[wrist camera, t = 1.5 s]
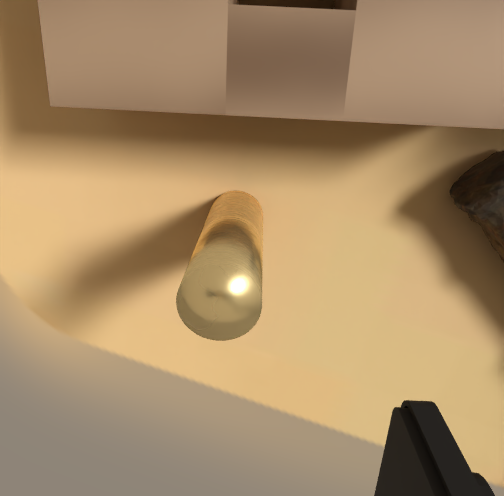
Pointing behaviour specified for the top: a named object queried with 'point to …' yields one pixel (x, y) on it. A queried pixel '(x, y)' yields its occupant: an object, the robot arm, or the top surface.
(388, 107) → the hole block
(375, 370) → the top surface
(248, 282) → the peg
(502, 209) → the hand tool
